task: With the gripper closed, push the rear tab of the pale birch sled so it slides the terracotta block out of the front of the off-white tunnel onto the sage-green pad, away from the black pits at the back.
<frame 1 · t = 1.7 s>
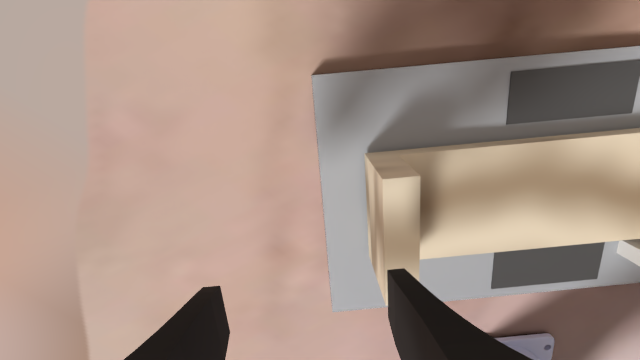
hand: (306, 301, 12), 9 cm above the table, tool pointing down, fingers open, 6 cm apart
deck: (591, 175, 21), on the table
sled: (585, 204, 17), point 4 cm above the table, slide at 0.0 cm, touching block
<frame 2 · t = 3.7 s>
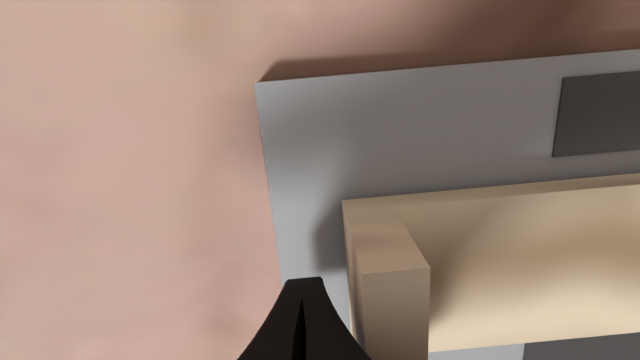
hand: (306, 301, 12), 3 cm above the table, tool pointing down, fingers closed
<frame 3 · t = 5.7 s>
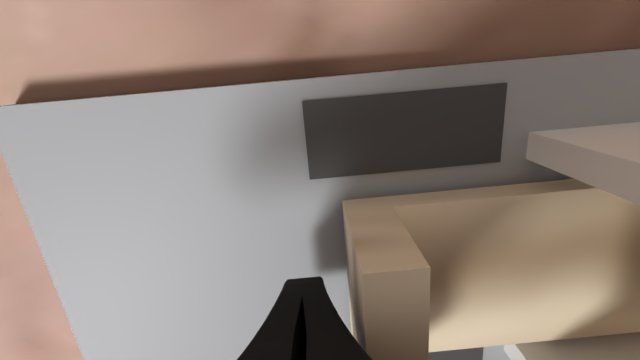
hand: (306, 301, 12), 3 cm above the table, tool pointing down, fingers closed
tunnel: (577, 232, 15), resting on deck
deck: (464, 242, 15), on the table
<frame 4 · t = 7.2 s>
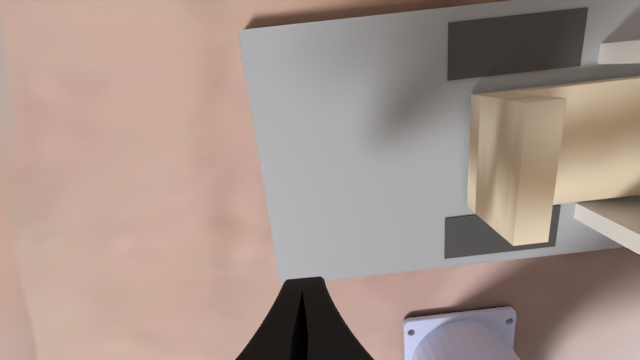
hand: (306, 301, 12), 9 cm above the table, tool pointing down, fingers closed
tunnel: (627, 127, 20), resting on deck
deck: (545, 137, 20), on the table
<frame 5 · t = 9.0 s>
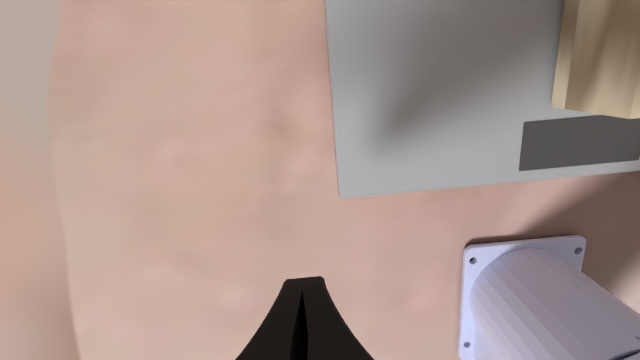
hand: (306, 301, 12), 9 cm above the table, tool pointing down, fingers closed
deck: (634, 36, 18), on the table
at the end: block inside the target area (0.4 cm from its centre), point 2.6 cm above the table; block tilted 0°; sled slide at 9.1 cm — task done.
